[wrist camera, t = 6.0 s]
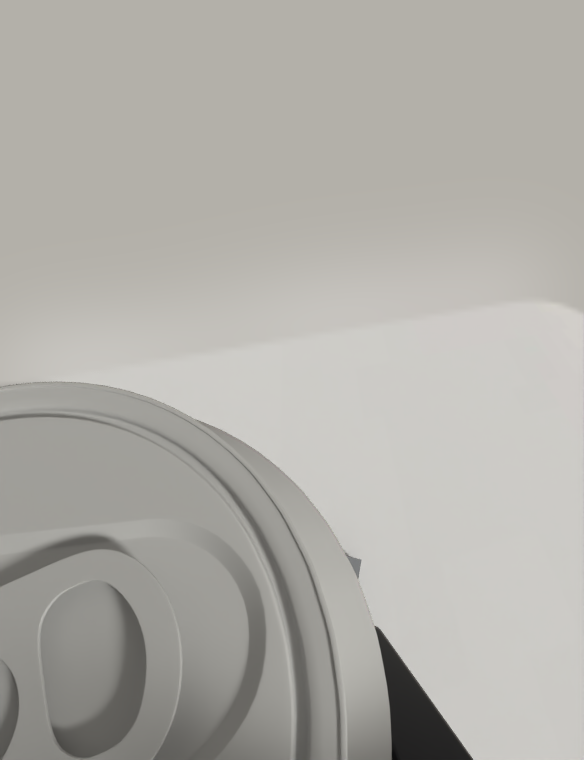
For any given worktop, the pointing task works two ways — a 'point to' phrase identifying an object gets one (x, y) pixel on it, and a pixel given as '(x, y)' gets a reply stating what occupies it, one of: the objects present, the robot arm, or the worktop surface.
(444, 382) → the worktop surface
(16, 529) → the beverage can
